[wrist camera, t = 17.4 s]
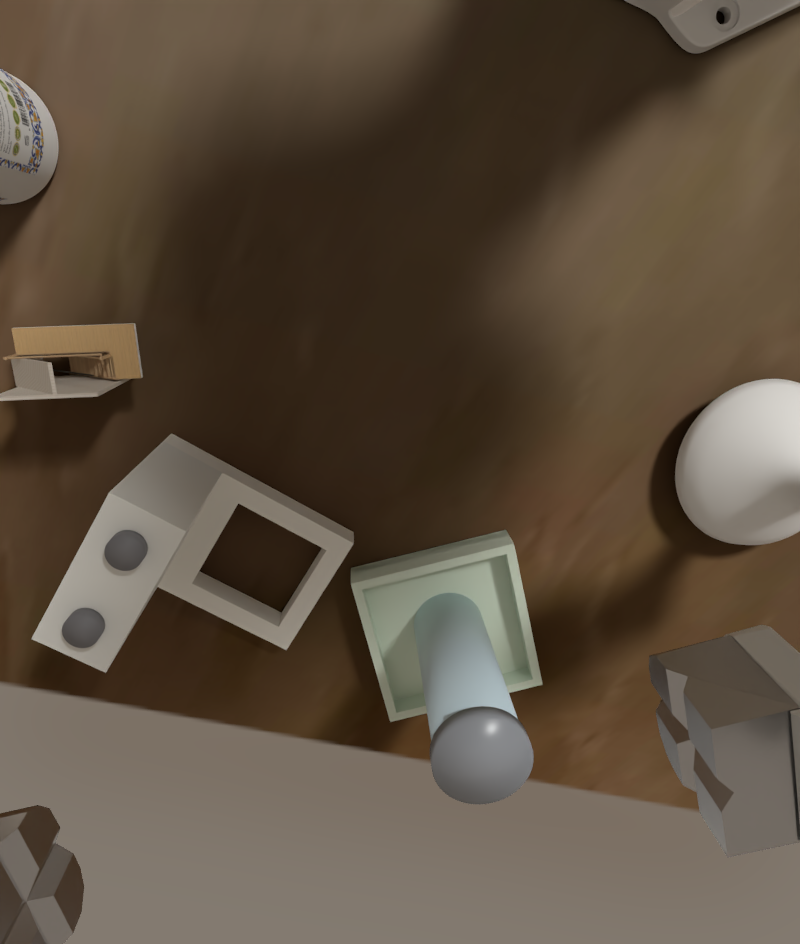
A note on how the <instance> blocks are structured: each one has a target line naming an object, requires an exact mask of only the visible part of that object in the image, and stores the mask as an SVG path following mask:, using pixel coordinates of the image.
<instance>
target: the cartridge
mask: <svg viewBox="0 0 800 944" xmlns="http://www.w3.org/2000/svg"><path fill="white" fill-rule="evenodd" d="M414 632H415V639H416V645H417V651H418V658H419V664H420V670H421V677H422V683H423V690H424V696H425V702H426V709H427V715H428V722H429V728H430V734H431V744H430V759H431V766H432V772H433V776H434V779H435V780H436V782H437V784H438V786H439V787H440V788H441V789H442V790H443V791H444V792H445V793H446V794H447V795H449V796H450V797H452V798H454V799H456V800H458V801H461V802H464V803H469V804H487V803H493V802H496V801H499V800H502V799H504V798H506V797H508V796H510V795H511V794H513V793H514V792H516V791H517V790H518V789H519V788H520V787H521V786H522V785H523V784H524V783H525V781H526V780H527V778H528V776H529V775H530V772H531V770H532V766H533V750H532V746H531V743H530V741H529V738H528V735H527V732H526V730H525V728H524V726H523V725H522V723H521V722H520V721H519V720H518V718H517V715H516V712H515V710H514V707H513V704H512V701H511V698H510V695H509V692H508V690H507V687H506V684H505V681H504V678H503V675H502V672H501V670H500V667H499V664H498V661H497V658H496V655H495V652H494V650H493V647H492V644H491V641H490V638H489V635H488V632H487V630H486V627H485V624H484V621H483V618H482V615H481V613H480V610H479V608H478V607H477V605H476V604H475V603H474V602H473V601H472V600H471V599H469V598H468V597H466V596H464V595H461V594H457V593H443V594H439V595H436V596H433V597H431V598H430V599H428V600H427V601H425V602H424V603H423V604H422V605H421V607H420V608H419V609H418V611H417V613H416V615H415V619H414Z"/></svg>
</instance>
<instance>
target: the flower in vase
mask: <svg viewBox="0 0 800 944" xmlns="http://www.w3.org/2000/svg"><path fill="white" fill-rule="evenodd" d="M675 484H676V491H677V495H678V498H679V501H680V504H681V506H682V508H683V510H684V512H685V513H686V515H687V516H688V518H689V519H690V520H691V521H692V523H693V524H694V525H695V526H696V527H697V528H699V529H700V530H701V531H702V532H704V533H705V534H707V535H709V536H710V537H712V538H715V539H717V540H720V541H723V542H727V543H731V544H739V545H762V544H769V543H773V542H776V541H780V540H782V539H785V538H787V537H790V536H792V535H794V534H795V533H797V532H799V531H800V383H797V382H794V381H790V380H783V379H763V380H756V381H752V382H749V383H745V384H742V385H740V386H737V387H735V388H733V389H731V390H729V391H727V392H726V393H724V394H722V395H721V396H719V397H718V398H717V399H715V400H714V401H713V402H711V403H710V404H709V405H708V406H707V407H706V408H705V409H704V410H703V411H702V412H701V413H700V414H699V415H698V417H697V418H696V419H695V420H694V422H693V423H692V425H691V426H690V428H689V429H688V431H687V433H686V435H685V437H684V439H683V441H682V444H681V446H680V449H679V452H678V456H677V460H676V468H675Z"/></svg>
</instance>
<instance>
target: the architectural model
mask: <svg viewBox="0 0 800 944" xmlns="http://www.w3.org/2000/svg"><path fill="white" fill-rule="evenodd" d="M12 333H13V339H14V344H15V349H16V354H13V355H10V356H6V357H3V360H7V359H11V363H12V368H13V373H14V378H15V384H16V386H17V387H16V388H14V389H11V390H8V391H6V392H3V393H0V401H9V400H32V399H55V398H78V397H98V396H100V395H102V394H104V393H106V392H108V391H109V390H111V389H113V388H115V387H117V386H119V385H121V384H123V383H124V382H126V381H128V380H130V379H132V378H142V377H143V375H142V367H141V360H140V353H139V346H138V339H137V332H136V324H135V323H126V324H100V325H74V326H48V327H22V328H12ZM107 352H108V354H107ZM105 353H106V354H105ZM42 355H43V356H42ZM44 355H46V356H44ZM47 355H48V356H47ZM50 355H51V356H50ZM51 357H69V363H70V368H71V372H69V371H61V370H54V369H53V368H52V363H50V362H44V361H43V358H51ZM53 371H57V372H64V373H69V374H76V375H67V376H54V373H53Z"/></svg>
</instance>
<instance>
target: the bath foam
mask: <svg viewBox="0 0 800 944" xmlns="http://www.w3.org/2000/svg"><path fill="white" fill-rule="evenodd" d="M58 150H59V146H58V136H57V131H56V128H55V124H54V122H53V119H52V117H51V115H50V113H49V111H48V109H47V107H46V106H45V104H44V103H43V102H42V100H41V99H40V98H39V96H38V95H37V94H36V93H35V92H34V91H33V90H32V89H31V88H30V87H28V86H27V85H26V84H25V83H23V82H22V81H21V80H19V79H17V78H16V77H14V76H12V75H11V74H9V73H7V72H5V71H4V70H2V69H0V204H14V203H19V202H22V201H25V200H27V199H29V198H31V197H33V196H35V195H36V194H37V193H39V192H40V191H41V190H42V189H43V188H44V187H45V186H46V185H47V183H48V182H49V180H50V179H51V177H52V175H53V173H54V171H55V168H56V164H57V160H58Z"/></svg>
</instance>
